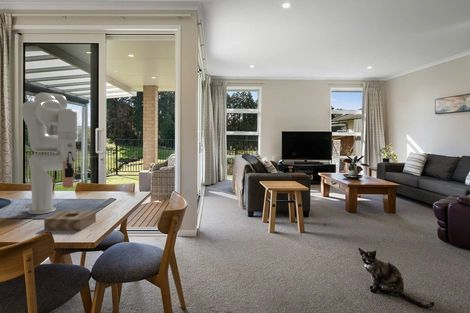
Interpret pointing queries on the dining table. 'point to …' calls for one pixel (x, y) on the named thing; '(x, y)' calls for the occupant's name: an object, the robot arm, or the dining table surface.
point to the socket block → (70, 220)
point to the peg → (67, 178)
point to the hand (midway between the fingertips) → (68, 176)
